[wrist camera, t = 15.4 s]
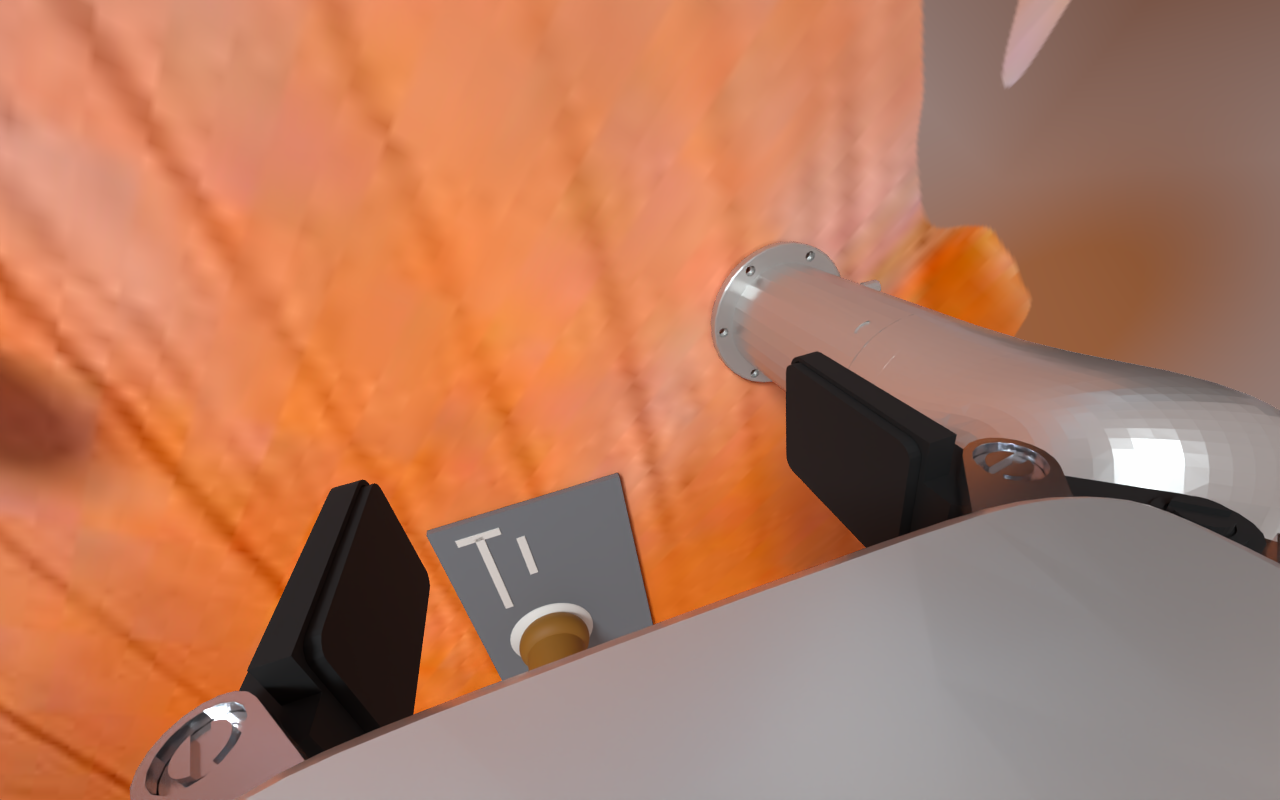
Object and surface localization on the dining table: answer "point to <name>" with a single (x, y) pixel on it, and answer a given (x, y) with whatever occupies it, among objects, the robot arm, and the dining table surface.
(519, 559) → the slate board
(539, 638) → the ornamental finial
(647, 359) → the dining table surface
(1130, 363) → the robot arm
